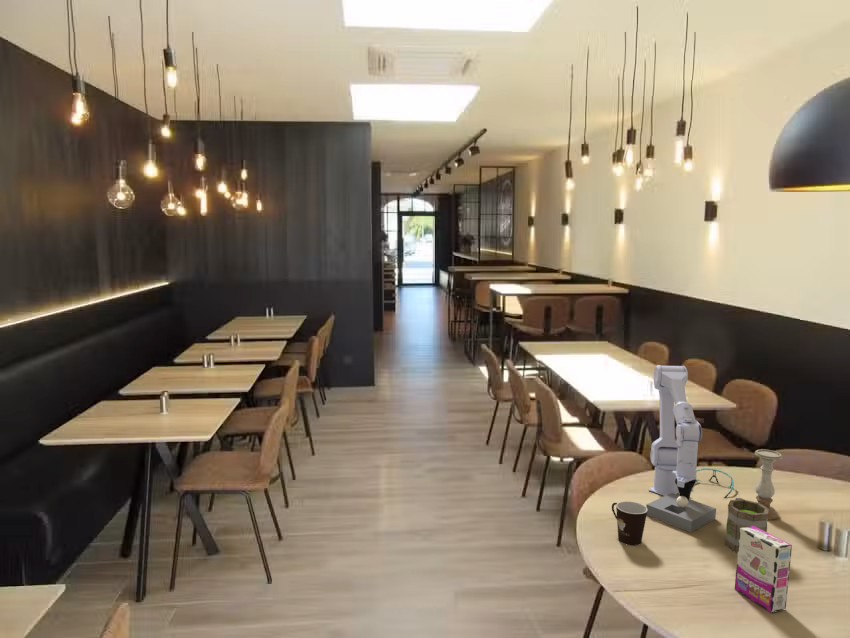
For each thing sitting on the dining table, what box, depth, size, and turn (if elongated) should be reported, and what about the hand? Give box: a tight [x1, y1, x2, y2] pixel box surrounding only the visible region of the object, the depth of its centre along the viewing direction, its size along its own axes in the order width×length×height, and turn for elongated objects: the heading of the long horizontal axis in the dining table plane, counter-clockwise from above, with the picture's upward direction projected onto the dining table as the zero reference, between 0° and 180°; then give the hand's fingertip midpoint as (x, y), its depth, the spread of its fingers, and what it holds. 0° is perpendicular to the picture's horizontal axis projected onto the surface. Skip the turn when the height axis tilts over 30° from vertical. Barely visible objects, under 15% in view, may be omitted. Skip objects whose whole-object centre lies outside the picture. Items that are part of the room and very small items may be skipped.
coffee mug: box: [611, 500, 648, 546], centre depth 185 cm, size 12×9×10 cm
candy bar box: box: [734, 526, 793, 613], centre depth 154 cm, size 11×5×16 cm, turn 21°
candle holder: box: [754, 448, 783, 521], centre depth 201 cm, size 9×9×20 cm
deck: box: [645, 493, 717, 533], centre depth 199 cm, size 15×15×4 cm
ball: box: [676, 496, 688, 508], centre depth 199 cm, size 4×4×4 cm
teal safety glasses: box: [691, 467, 735, 499], centre depth 223 cm, size 14×15×5 cm
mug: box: [724, 497, 769, 554], centre depth 182 cm, size 16×11×12 cm
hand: (684, 502), depth 200 cm, fingers closed, pressing on ball
